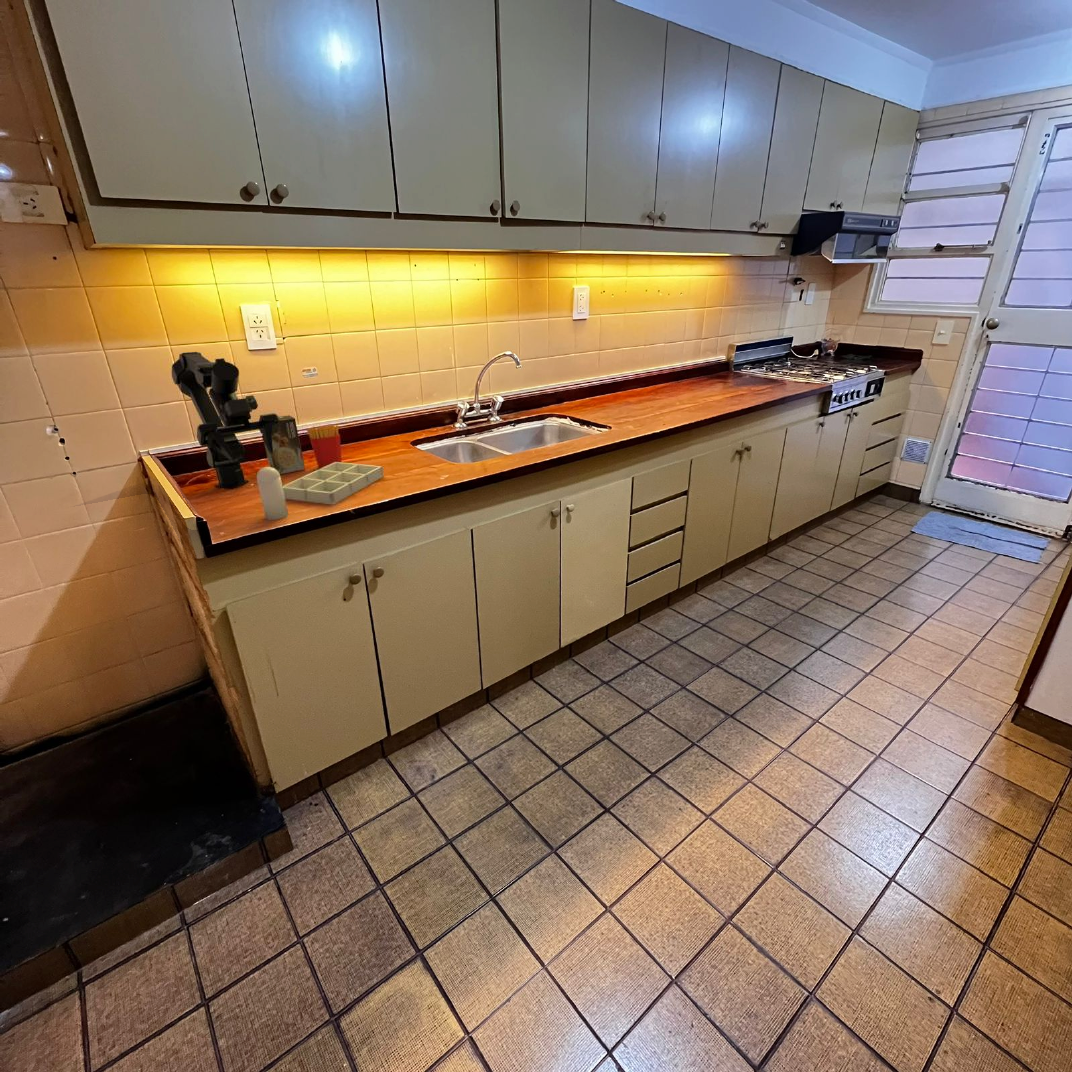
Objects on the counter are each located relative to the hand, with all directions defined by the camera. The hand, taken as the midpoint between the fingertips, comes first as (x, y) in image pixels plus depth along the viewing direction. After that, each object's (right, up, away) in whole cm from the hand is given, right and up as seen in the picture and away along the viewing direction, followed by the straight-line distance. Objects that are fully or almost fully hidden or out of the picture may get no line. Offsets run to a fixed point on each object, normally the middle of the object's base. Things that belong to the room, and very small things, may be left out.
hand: (253, 456), depth 140 cm
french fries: (+5, +2, +38) cm, 38 cm away
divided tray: (+13, -6, +20) cm, 24 cm away
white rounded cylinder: (+6, -15, 0) cm, 16 cm away
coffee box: (-7, +1, +35) cm, 35 cm away
